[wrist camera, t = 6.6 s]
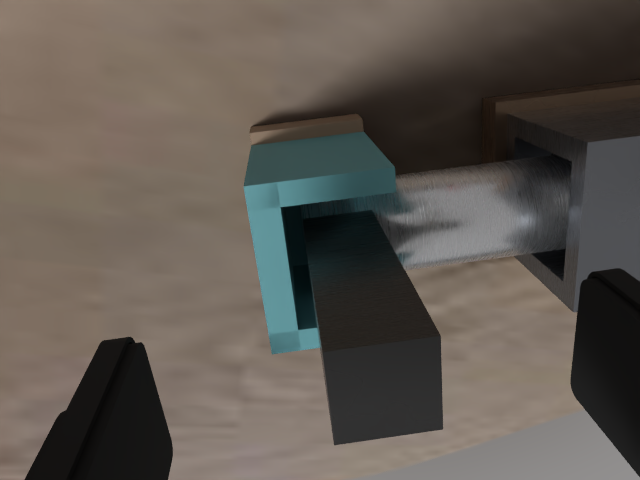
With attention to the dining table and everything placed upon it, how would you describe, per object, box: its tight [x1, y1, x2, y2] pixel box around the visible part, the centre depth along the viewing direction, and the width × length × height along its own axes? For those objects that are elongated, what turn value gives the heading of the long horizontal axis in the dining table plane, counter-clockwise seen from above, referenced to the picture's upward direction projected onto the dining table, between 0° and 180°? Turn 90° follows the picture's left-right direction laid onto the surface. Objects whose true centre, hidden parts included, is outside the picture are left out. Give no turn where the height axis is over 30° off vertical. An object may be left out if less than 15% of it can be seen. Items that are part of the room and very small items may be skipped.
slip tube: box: [300, 155, 572, 445], centre depth 16 cm, size 12×4×11 cm, turn 96°
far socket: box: [244, 114, 396, 354], centre depth 21 cm, size 5×7×8 cm, turn 6°
